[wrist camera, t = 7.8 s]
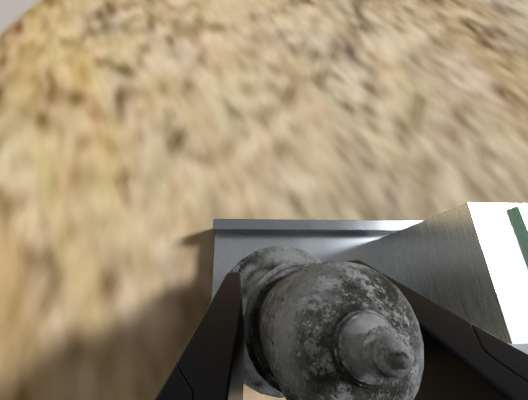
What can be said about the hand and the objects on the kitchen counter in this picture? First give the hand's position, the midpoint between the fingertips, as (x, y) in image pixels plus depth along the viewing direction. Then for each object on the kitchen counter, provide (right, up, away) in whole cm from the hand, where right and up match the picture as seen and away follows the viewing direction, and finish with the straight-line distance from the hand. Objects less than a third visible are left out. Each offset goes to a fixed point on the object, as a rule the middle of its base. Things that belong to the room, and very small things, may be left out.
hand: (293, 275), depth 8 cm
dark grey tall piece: (-1, -4, +6) cm, 7 cm away
